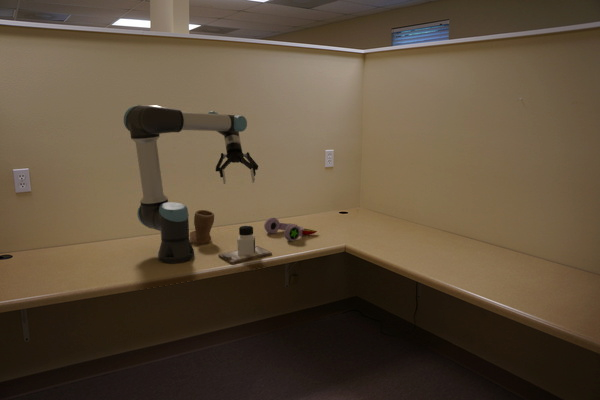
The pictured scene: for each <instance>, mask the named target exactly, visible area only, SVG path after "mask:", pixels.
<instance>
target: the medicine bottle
mask: <svg viewBox="0 0 600 400" xmlns="http://www.w3.org/2000/svg"><path fill="white" fill-rule="evenodd" d="M255 246H256V235H255V234H254V227H253V226H252V225H248V224H246V225H241V226H239V228H238V238H237V250H238V255H254V254H255Z"/></svg>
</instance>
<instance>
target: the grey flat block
mask: <svg viewBox="0 0 600 400" xmlns="http://www.w3.org/2000/svg"><path fill="white" fill-rule="evenodd" d="M217 255H218V258H220V259H221V260H223V261H225V262H227V263H229V264H230V265H236V264H239V263H243V262H244V263H245V262H248V261H252V260H256V259H261V258H265V257H269V256H272V255H273V252H271V251H269V250H268V249H265V248H262V246H261V247H260V246H259V245H255V254H254V255H238V249H237V250H233V251H228V252H224V253H219V254H217Z"/></svg>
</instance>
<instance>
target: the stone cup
mask: <svg viewBox="0 0 600 400" xmlns="http://www.w3.org/2000/svg"><path fill="white" fill-rule="evenodd" d="M193 221H194V222H193V225H194V230H193V231H189V240H190V242H191V243H193V244H208V243H210V242H211V241H212V236H211V230H212V227H213V225H214V222H215V213H213V212H212V211H209V210H208V209H207V210H206V209H205V210H204V209H199V210H196V211H195V213H194V217H193Z"/></svg>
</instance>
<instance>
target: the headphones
mask: <svg viewBox="0 0 600 400" xmlns="http://www.w3.org/2000/svg"><path fill="white" fill-rule="evenodd" d="M279 230H280V231H281V230H282V231H284V233H283V234H284V238H285V240H287V241H288V242H295V241H297V240H298V239H299V238H300V237H303V236H308V235H313V234H316V233H317V232H318V230H315V229H310V228H304V227H302V226H299V225H298V224H296V223H284V222H280V221H279V219H278V218H276V217H269V218H267V219H266V220H265V222H264V231H266V233H267V234H269V235H273V234H276V233H277V232H278V231H279Z"/></svg>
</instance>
